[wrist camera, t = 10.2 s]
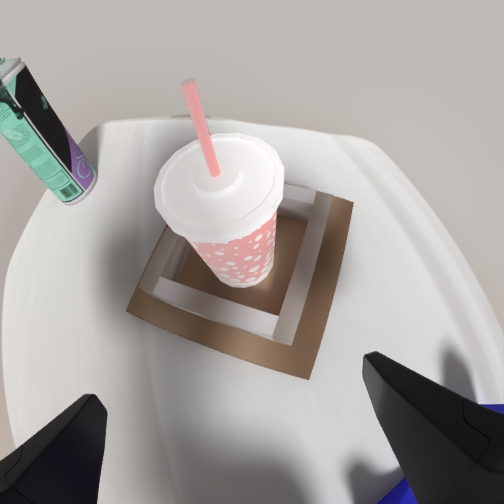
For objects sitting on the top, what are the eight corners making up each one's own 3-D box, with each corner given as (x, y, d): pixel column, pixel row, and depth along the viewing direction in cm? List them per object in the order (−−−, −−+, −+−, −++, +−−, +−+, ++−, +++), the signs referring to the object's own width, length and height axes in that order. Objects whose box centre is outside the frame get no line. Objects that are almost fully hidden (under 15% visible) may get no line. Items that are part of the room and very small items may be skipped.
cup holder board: (351, 209, 22) (359, 183, 19) (307, 379, 17) (313, 380, 14) (200, 175, 25) (191, 149, 22) (132, 314, 20) (108, 301, 17)
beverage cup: (200, 227, 22) (127, 69, 9) (278, 216, 21) (268, 39, 9) (202, 302, 19) (80, 166, 6) (290, 293, 19) (301, 120, 6)
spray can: (105, 175, 27) (16, 33, 9) (74, 212, 26) (-36, 80, 8) (84, 164, 29) (5, 43, 11) (56, 196, 27) (-37, 82, 9)
